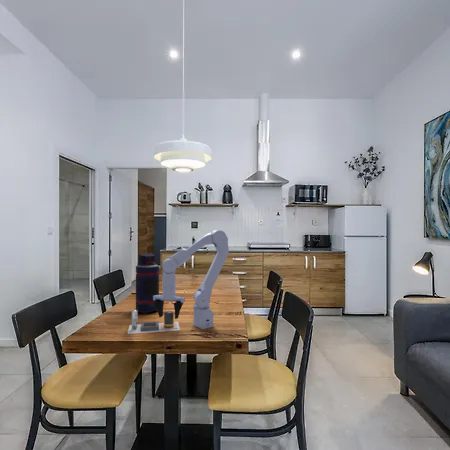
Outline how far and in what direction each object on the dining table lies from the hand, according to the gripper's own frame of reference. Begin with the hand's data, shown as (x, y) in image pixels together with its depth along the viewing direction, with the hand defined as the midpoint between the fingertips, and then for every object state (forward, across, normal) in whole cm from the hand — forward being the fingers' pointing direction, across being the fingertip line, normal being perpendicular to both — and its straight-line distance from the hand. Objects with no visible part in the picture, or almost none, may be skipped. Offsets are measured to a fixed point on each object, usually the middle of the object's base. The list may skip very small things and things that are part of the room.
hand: (168, 317), depth 139 cm
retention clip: (+4, +9, +12) cm, 15 cm away
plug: (+4, 0, 0) cm, 4 cm away
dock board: (+5, +5, +3) cm, 8 cm away
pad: (+4, 0, 0) cm, 4 cm away
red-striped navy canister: (+5, +24, -22) cm, 33 cm away
